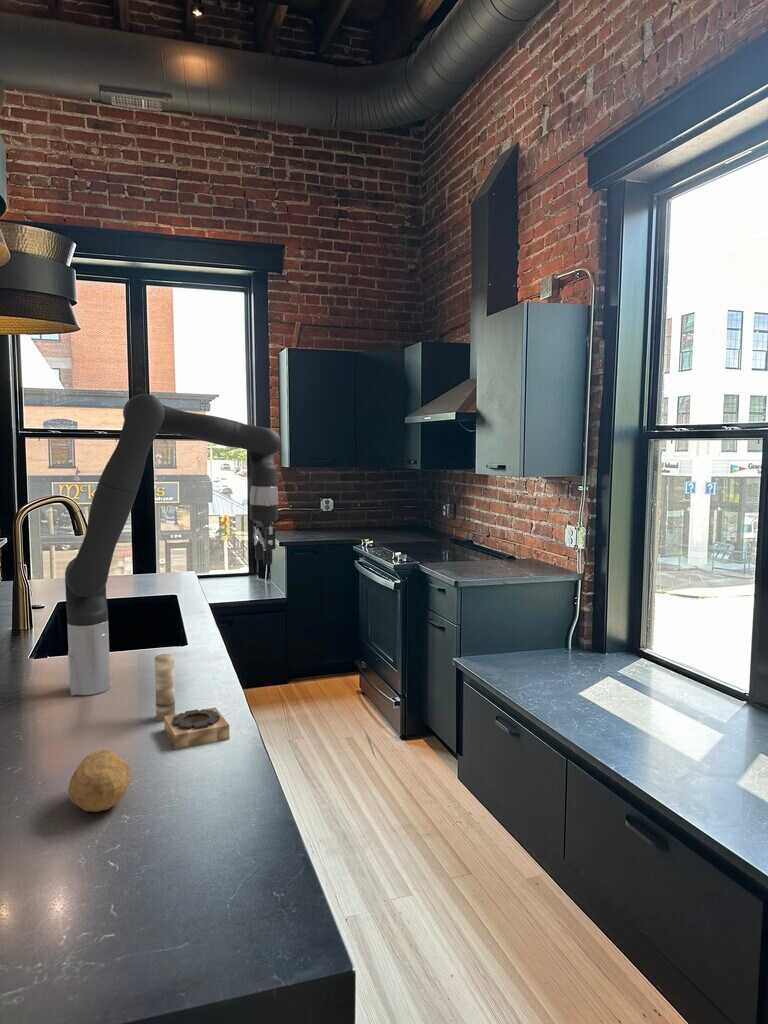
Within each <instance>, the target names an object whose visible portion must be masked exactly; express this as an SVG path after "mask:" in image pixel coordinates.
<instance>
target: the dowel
mask: <svg viewBox="0 0 768 1024" xmlns="http://www.w3.org/2000/svg"><path fill="white" fill-rule="evenodd" d="M174 657H175V656H174V655H173V654H171V653H162V654H158V655H155V656H154V678H155V679H154V680H155V687H154V688H155V710H156V711H155V714H156V717H155V718H156V719H157V720H156V721H158V722H162V721H164V716H168V715H174V714H176V695H175V694H176V693H175V659H174Z"/></svg>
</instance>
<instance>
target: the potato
mask: <svg viewBox="0 0 768 1024" xmlns="http://www.w3.org/2000/svg"><path fill="white" fill-rule="evenodd" d="M131 774H132V773H131V769H130V765H128V763H127V761H125V760H124V759H123V758H122V757H121V756H120V755H119V754H117V753H116V752H114V751H112V750H106V749H104V750H98V751H94V752H92V753H90V754H88V755H87V756H85V757H84V758H83V760H82V761H81V762H80V763H79V765H78V766H77V768H76V769H75V771H74V772H73V775H72V777H71V778H70V782H69V784H68V790H67V791H68V794H69V799H70V800H71V802H72V803H73V804H75V805H76V806H78V808H80V809H81V810H82V811H85V812H94V813H96V812H102V811H106V810H109V809H111V808H112V807H114V806H115V805H116V804H117V803H119V802H120V801H121V800H123V799H124V798H125V796H126V794H127V791H128V787H129V784H130V781H131V780H132V777H131Z"/></svg>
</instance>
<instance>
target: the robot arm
mask: <svg viewBox="0 0 768 1024" xmlns="http://www.w3.org/2000/svg"><path fill="white" fill-rule="evenodd" d="M122 416H123V419H124V420H123V425H122V428H121V431H120V432H121V433H120V435H119V439H118V442H117V445H116V447H115V449H114V451H113V453H112V454H111V456H110V458H109V459H108V461H107V463H106V465H105V467H104V469H103V470H102V472H101V475H100V477H99V480H98V483H97V486H96V488H95V491H94V494H93V497H92V500H91V504H90V508H89V514H88V519H87V526H86V530H85V534H84V538H83V541H82V542H81V546H80V548H79V550H78V553H77V555H76V556H75V558H73V559H72V560H70V562H68V565H67V566H66V568H65V572H64V584H65V606H66V618H67V619H66V620H67V621H66V622H67V623H66V624H67V645H68V651H67V661H68V665H67V666H68V668H67V669H68V687H69V688H68V689H69V693H70V696H90V695H96V694H101V693H104V692H106V691H108V690H109V689H110V688H111V664H110V637H109V636H110V633H109V610H108V600H107V582H108V579H109V573H110V569H111V564H112V561H113V556H114V553H115V549H116V546H117V543H118V541H119V539H120V537H121V534H122V532H123V530H124V528H125V525H126V523H127V521H128V518H129V516H130V514H131V511H132V509H133V506H134V503H135V501H136V497H137V494H138V491H139V488H140V484H141V481H142V479H143V478H142V477H143V474H144V471H145V466H146V464H147V463H146V462H147V458H148V456H149V452H150V450H151V448H152V445H153V443H154V442H155V441H154V440H155V438H156V437H157V434H158V433H167V434H174V435H178V436H184V437H188V438H191V439H196V440H199V441H203V442H207V443H210V444H215V445H219V446H221V447H222V446H223V447H227V448H233V449H234V448H236V449H243V450H246V451H248V452H249V453H248V454H249V462H250V467H251V470H250V471H251V473H250V490H249V491H250V492H249V519H250V521H252V540H251V541H252V543H253V545H254V558H255V560H263V561H262V563H263V565H264V566H270V565H271V566H272V564H273V551H274V550H275V549H276V546H277V545H276V526H272V522H275V521H278V520H279V489H278V468H277V466H276V464H275V456H274V454H275V453H277V452H278V451H279V449H280V448H281V445H282V440H281V436H280V434H279V433H278V432H277V430H274V429H272V428H268V427H263V426H257V425H253V424H246V423H242V422H239V421H236V420H234V419H233V420H232V419H228V418H224V417H219V416H217V415H216V416H215V415H209V414H202V413H196V412H190V411H185V410H180V409H177V408H173V407H171V406H168V405H165V404H163V403H162V401H161V400H160V399H159V398H158V397H157V396H155V395H153V394H151V393H139V394H137V395H134V396H132V397H131V398H130V399H128V400H127V401H126V402H125V404H124V407H123V409H122Z"/></svg>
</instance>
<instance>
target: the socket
mask: <svg viewBox="0 0 768 1024" xmlns="http://www.w3.org/2000/svg"><path fill="white" fill-rule="evenodd" d="M163 723H164V732H165V733H166V735H167V737H168V739H169V741H170V742H171V744H172V747H173V748H174V750H176V749H177V750H181V748H182V749H186V747H187V748H192V747H197V746H201V745H206V744H211V743H216V742H222V741H228V740H230V724H229V723H228V722H227V720H226V719H225V717H224V716H223V715H222V713H221V712H220V711H219V710H218V708H217V707H211V708H209V707H208V708H202V709H193V710H191V709H190V710H186V711H184V712H180V713H175V714H174V715H168V716H164V722H163Z"/></svg>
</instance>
